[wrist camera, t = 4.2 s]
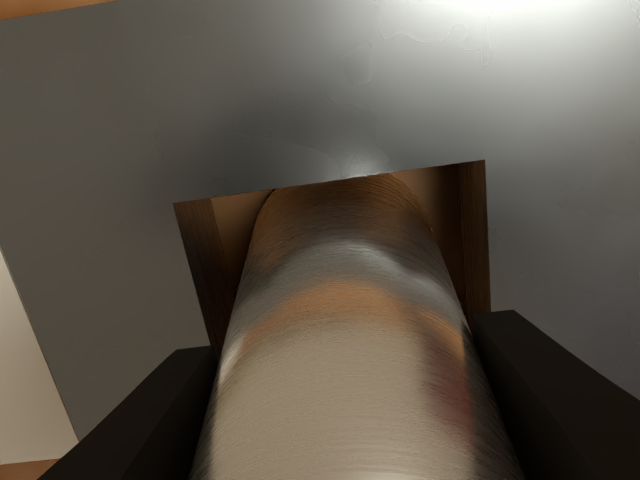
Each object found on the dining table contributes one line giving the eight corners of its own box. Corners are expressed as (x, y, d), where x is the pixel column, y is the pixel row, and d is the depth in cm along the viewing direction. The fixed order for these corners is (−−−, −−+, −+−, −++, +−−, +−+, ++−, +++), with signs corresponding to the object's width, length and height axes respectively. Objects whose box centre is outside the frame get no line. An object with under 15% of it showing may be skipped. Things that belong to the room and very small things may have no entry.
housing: (630, -81, 10) (713, -100, 8) (602, 435, 15) (650, 515, 13) (-2, 25, 11) (-85, 34, 9) (158, 480, 16) (129, 562, 14)
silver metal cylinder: (425, 149, 12) (585, 482, 4) (437, 310, 14) (567, 739, 6) (235, 176, 12) (93, 530, 5) (271, 331, 14) (208, 762, 7)
